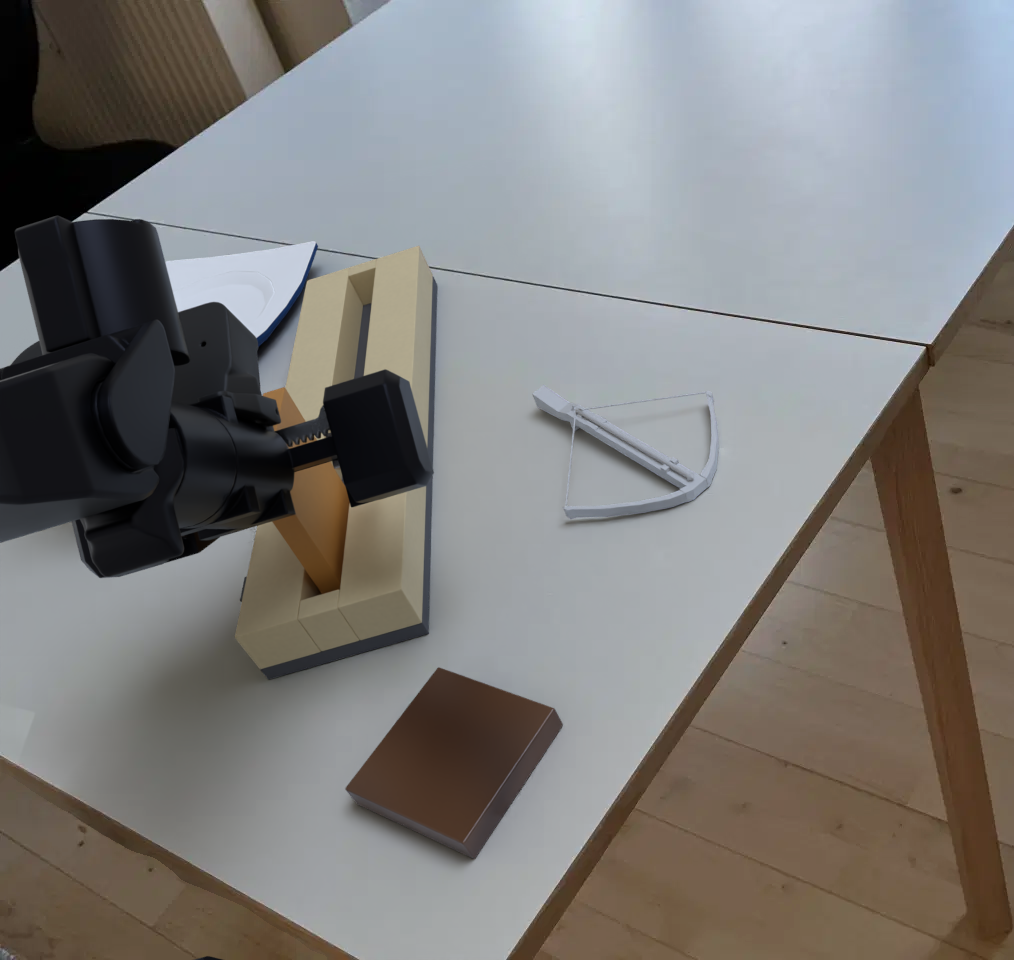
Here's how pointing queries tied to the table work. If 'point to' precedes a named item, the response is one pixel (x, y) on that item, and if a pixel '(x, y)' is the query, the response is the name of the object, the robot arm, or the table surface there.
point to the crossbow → (632, 456)
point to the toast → (314, 510)
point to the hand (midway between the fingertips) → (310, 483)
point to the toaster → (370, 527)
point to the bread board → (455, 760)
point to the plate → (245, 284)
